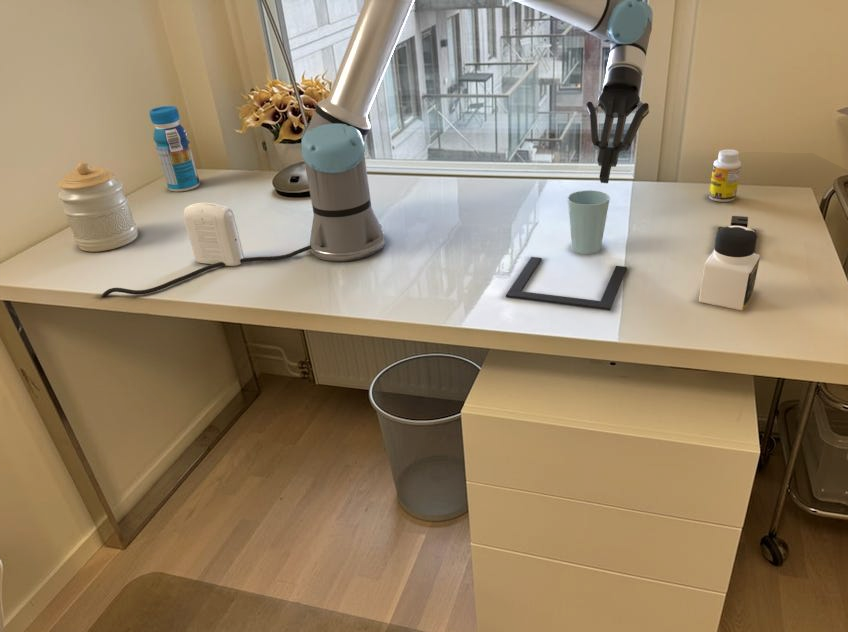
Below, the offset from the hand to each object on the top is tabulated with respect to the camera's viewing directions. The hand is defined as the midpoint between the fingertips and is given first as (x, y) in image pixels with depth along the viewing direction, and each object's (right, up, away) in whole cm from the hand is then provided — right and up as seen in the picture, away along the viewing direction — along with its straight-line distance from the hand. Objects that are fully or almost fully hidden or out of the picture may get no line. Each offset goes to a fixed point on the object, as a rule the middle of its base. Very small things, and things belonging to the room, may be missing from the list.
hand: (603, 179), depth 142 cm
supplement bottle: (+28, -1, +11) cm, 31 cm away
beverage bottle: (-101, +9, +42) cm, 110 cm away
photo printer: (-78, -17, 0) cm, 80 cm away
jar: (-107, -10, +14) cm, 109 cm away
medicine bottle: (+15, -26, -26) cm, 39 cm away
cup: (-5, -15, -6) cm, 17 cm away
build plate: (+24, -14, -8) cm, 29 cm away
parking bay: (-10, -22, -17) cm, 30 cm away
